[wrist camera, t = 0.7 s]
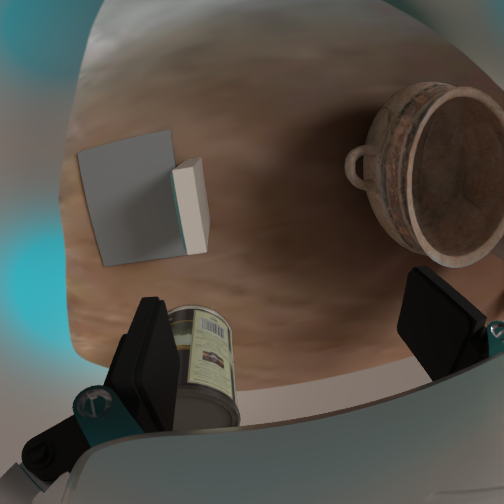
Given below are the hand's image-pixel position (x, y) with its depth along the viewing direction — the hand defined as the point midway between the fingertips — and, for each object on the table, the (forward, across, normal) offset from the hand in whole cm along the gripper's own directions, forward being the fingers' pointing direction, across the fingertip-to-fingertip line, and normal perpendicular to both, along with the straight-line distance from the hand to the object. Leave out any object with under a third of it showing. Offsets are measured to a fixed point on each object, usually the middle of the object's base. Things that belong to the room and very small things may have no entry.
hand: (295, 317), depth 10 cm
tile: (+23, +5, -1) cm, 23 cm away
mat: (+23, +13, 0) cm, 26 cm away
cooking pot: (+23, -20, -3) cm, 31 cm away
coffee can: (+23, +8, +19) cm, 31 cm away
